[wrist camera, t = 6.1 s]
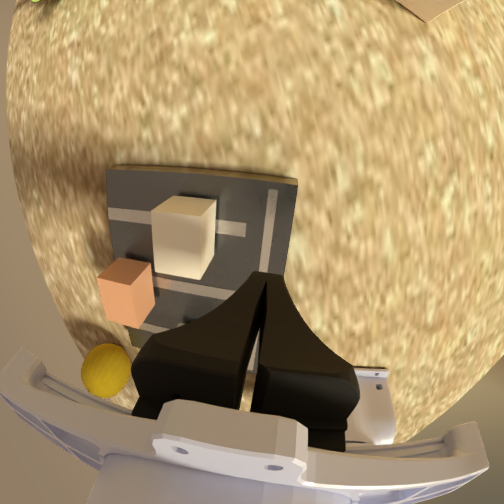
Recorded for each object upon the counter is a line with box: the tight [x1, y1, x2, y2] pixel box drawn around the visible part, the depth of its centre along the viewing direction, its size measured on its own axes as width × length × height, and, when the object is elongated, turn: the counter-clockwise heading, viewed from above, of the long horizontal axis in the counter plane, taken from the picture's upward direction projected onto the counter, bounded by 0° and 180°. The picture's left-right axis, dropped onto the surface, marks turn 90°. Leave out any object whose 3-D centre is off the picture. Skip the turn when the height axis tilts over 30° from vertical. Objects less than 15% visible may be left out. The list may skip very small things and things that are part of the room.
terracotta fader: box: [97, 257, 155, 329], centre depth 20 cm, size 3×4×3 cm
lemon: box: [81, 343, 131, 398], centre depth 26 cm, size 6×6×8 cm
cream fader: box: [151, 196, 216, 280], centre depth 17 cm, size 3×4×3 cm
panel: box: [106, 165, 298, 374], centre depth 22 cm, size 14×18×2 cm
